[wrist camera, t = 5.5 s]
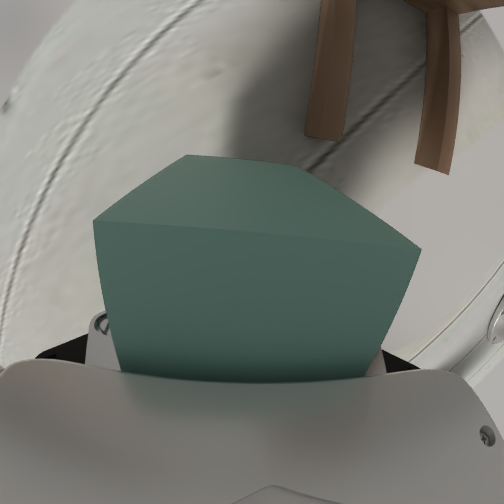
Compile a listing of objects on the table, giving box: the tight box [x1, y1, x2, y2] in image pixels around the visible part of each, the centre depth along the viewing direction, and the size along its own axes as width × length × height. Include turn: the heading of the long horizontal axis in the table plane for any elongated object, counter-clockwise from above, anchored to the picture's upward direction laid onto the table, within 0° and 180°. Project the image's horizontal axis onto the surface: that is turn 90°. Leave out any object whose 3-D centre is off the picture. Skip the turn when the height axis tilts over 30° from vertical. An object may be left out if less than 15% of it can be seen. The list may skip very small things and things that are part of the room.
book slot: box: [305, 0, 504, 175], centre depth 9 cm, size 9×14×8 cm
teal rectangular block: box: [93, 155, 421, 382], centre depth 10 cm, size 5×10×9 cm, turn 173°
